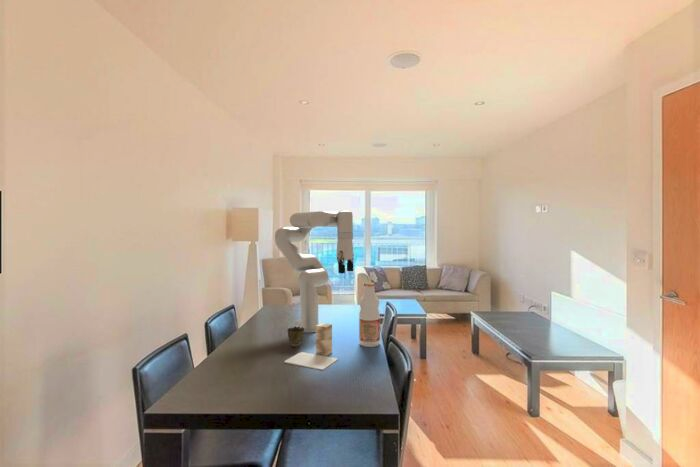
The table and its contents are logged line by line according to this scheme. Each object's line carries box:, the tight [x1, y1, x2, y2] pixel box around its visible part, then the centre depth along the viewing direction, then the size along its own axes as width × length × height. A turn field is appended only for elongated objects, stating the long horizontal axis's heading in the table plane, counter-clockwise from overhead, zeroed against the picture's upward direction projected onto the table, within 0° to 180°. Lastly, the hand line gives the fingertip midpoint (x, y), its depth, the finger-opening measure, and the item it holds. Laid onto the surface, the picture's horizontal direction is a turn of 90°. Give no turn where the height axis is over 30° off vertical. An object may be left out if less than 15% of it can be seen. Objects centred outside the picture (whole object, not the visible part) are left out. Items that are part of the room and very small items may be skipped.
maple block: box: [315, 322, 333, 357], centre depth 146 cm, size 5×5×12 cm
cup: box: [287, 326, 305, 348], centre depth 154 cm, size 8×7×8 cm
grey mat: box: [283, 351, 339, 371], centre depth 137 cm, size 18×12×1 cm, turn 64°
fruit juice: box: [358, 282, 381, 348], centre depth 157 cm, size 9×9×28 cm
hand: (346, 272), depth 164 cm, fingers open, 9 cm apart
